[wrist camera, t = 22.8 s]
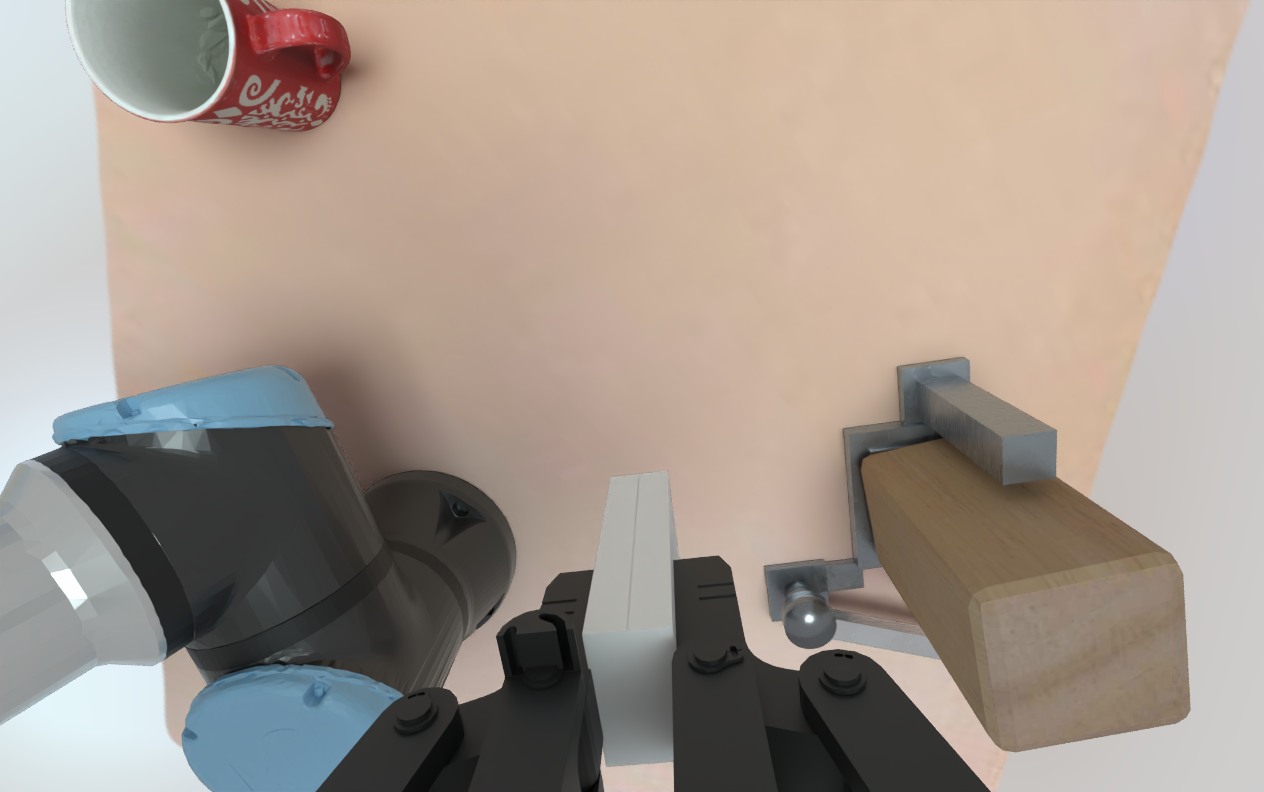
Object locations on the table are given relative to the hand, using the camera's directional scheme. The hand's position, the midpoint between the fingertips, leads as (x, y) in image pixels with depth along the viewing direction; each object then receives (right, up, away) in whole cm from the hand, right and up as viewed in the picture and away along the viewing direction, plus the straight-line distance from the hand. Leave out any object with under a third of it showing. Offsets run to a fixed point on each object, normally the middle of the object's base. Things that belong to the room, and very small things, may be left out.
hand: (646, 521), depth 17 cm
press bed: (+20, -5, +36) cm, 42 cm away
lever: (+20, -15, +36) cm, 44 cm away
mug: (-23, +26, +29) cm, 46 cm away
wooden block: (+23, -5, +34) cm, 42 cm away
